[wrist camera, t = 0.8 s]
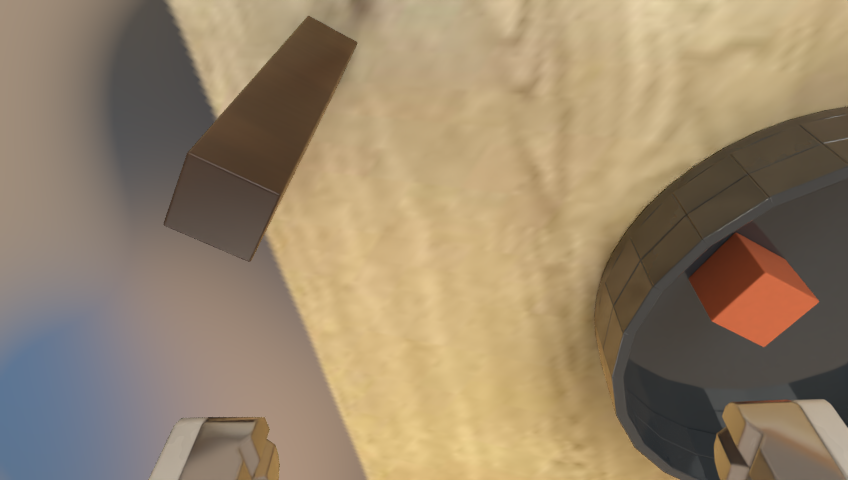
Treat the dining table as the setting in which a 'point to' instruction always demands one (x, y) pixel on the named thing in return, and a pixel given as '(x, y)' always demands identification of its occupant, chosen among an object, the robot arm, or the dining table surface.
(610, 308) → the bowl
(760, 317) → the block
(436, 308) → the dining table surface
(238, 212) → the stick
